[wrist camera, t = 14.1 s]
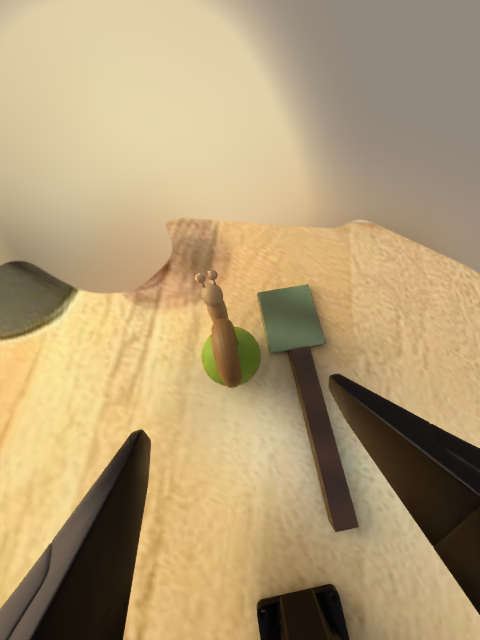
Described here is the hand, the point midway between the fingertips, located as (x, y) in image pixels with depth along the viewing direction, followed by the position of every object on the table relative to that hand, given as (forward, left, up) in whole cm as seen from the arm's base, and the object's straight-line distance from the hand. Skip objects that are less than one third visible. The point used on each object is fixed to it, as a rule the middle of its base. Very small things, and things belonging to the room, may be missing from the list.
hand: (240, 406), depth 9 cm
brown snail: (+4, 0, -11) cm, 12 cm away
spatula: (-1, -7, -11) cm, 13 cm away
